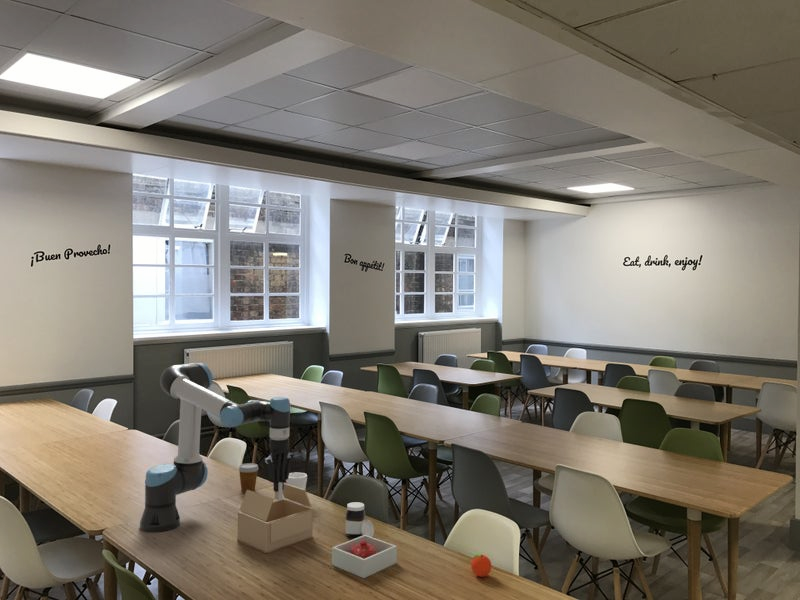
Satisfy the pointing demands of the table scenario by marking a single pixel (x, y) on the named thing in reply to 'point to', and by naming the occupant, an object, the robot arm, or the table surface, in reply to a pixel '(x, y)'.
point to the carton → (276, 526)
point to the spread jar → (357, 521)
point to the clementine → (481, 565)
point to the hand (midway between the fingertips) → (278, 499)
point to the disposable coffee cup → (248, 476)
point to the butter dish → (363, 550)
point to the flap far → (296, 494)
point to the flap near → (256, 505)
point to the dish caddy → (368, 565)
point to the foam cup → (297, 481)
